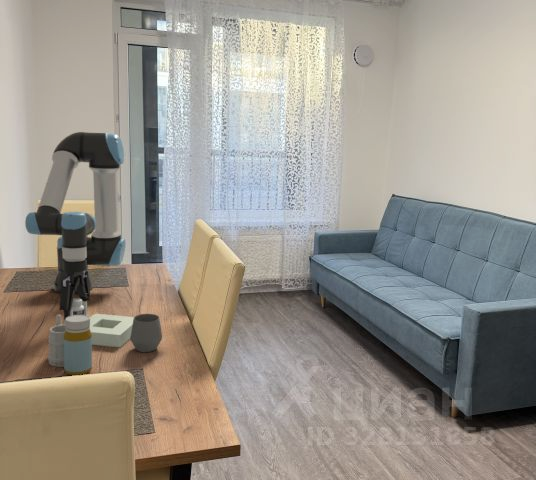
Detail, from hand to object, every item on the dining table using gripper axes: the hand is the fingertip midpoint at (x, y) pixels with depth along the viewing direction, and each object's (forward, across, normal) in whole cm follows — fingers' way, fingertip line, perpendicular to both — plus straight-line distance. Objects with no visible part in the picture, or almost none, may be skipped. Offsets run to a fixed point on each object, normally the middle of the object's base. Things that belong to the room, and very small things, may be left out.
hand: (76, 323), depth 169 cm
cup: (+1, +13, +30) cm, 33 cm away
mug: (+1, +26, +10) cm, 27 cm away
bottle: (+1, +32, +18) cm, 37 cm away
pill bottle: (+1, 0, 0) cm, 1 cm away
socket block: (0, +6, +14) cm, 15 cm away
